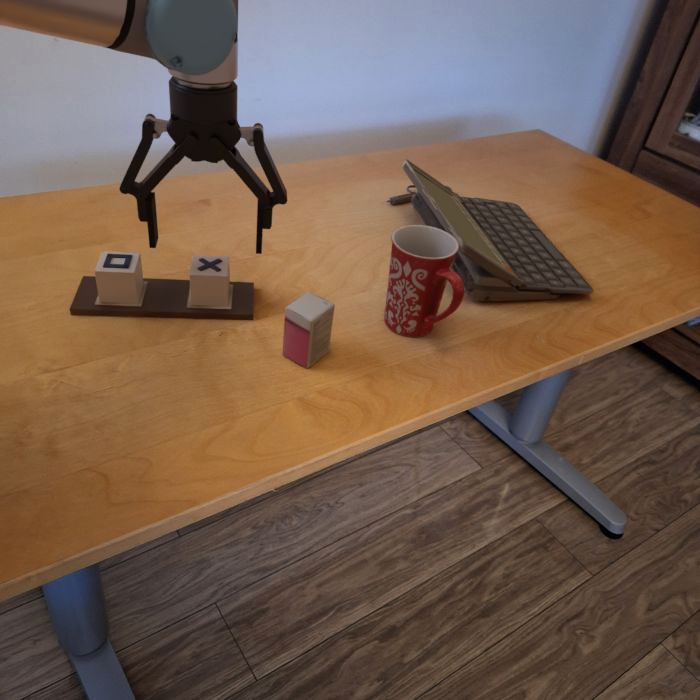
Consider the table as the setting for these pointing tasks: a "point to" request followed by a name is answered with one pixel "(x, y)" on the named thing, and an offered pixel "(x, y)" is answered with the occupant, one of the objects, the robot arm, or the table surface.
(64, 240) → the table surface
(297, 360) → the small box
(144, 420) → the table surface
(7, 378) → the table surface
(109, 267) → the tile
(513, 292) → the laptop
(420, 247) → the mug
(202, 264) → the tile
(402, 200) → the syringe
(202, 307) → the word board
